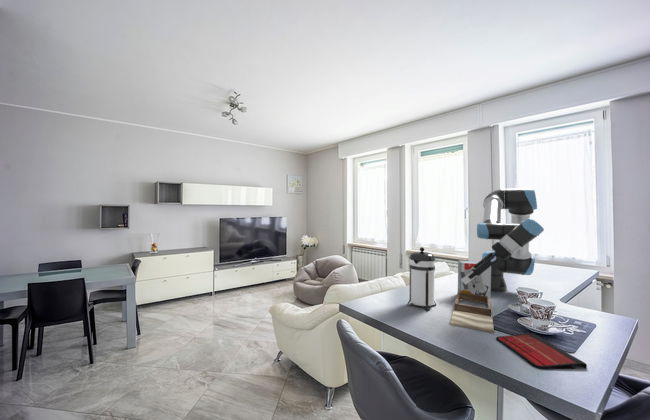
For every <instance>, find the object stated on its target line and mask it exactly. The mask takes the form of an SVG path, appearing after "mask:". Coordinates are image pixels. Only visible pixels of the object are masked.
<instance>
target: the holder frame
mask: <svg viewBox="0 0 650 420" xmlns="http://www.w3.org/2000/svg"><path fill="white" fill-rule="evenodd" d="M461 300H462V301H466V302H467V301H468V302H474V303H481V304H486V305H487V307H484V306H476V305H470V304H465V303H460V301H461ZM454 310H455V311H461V312H467V313H473V314H479V315H485V316H491V317H492V303H491V296H490V297H488V296H481V295H474V294H466V293H459V292H458V291H457V293H456V298H455V300H454Z"/></svg>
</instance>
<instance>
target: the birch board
mask: <svg viewBox="0 0 650 420" xmlns="http://www.w3.org/2000/svg"><path fill="white" fill-rule="evenodd" d="M493 320H494V319H493V316H492V315H491V316H485V315H479V314H473V313H467V312H461V311H455V310H452V314H451V318H450V321H449V323H450V324H449V325H453V326H457V327H458V326H459V327H463V328H467V329H473V330H477V331H484V332H488V333H492V334H493V333H495V329H494V321H493Z"/></svg>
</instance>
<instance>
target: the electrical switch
mask: <svg viewBox="0 0 650 420" xmlns="http://www.w3.org/2000/svg"><path fill="white" fill-rule="evenodd" d="M474 270H475V269H474ZM471 271H472V269H468V270H464V272H460V274H461V278H464V277H465V276H466V275H467V274H469V273H470V272H471ZM463 286H464V289H465V290H469V291H476V290H481V289H484V286H483V282H482V278H481V275H478V276H477V277H475V278H474V279H473V280H471V281H470V282H469V283H467V284H466V285H465V284H464V283H463Z"/></svg>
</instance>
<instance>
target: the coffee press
mask: <svg viewBox="0 0 650 420" xmlns="http://www.w3.org/2000/svg"><path fill="white" fill-rule="evenodd" d="M408 259H409V264H408V267H409V300H408V301H407V303H406V305H407V306H408V307H411V306H413V305H416V306H420V307H424V309H425V311H430V306H434V307H436V306H437V302H435V270H436V266H435V262H436V257H435V255H434V254H433V253H430V252H426V251H425V248H424V247H420V248H419V251H414V252H413V251H412V252H411V254H410V255H409V256H408Z"/></svg>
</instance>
